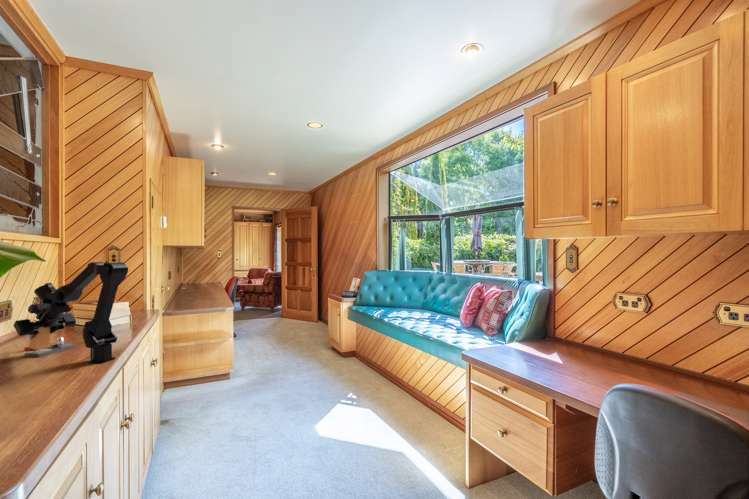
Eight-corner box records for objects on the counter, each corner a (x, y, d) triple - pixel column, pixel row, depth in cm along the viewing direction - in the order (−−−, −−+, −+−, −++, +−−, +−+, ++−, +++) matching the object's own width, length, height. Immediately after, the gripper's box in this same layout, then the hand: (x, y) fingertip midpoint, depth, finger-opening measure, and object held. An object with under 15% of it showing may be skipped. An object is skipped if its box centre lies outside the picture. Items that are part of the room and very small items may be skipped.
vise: (74, 347, 155) (74, 336, 155) (38, 357, 141) (38, 344, 141) (61, 346, 157) (61, 335, 157) (24, 356, 143) (24, 343, 143)
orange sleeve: (50, 346, 146) (50, 323, 146) (36, 349, 142) (36, 326, 142) (43, 345, 148) (43, 323, 148) (29, 348, 144) (29, 325, 144)
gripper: (71, 294, 152) (56, 318, 156) (15, 300, 135) (-1, 326, 139) (83, 313, 150) (67, 337, 154) (28, 321, 132) (11, 348, 136)
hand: (38, 336), depth 146 cm, fingers closed on orange sleeve, 4 cm apart
